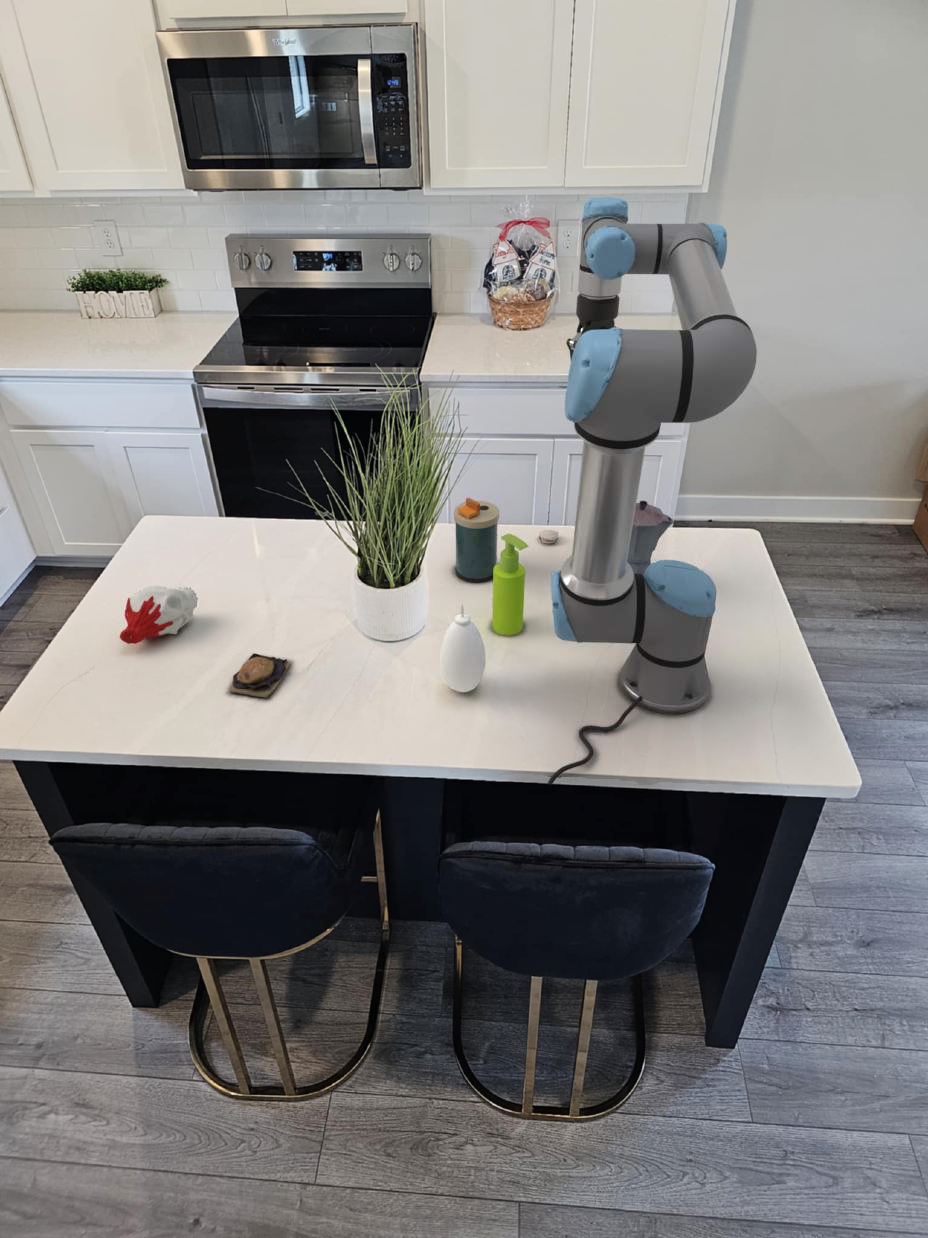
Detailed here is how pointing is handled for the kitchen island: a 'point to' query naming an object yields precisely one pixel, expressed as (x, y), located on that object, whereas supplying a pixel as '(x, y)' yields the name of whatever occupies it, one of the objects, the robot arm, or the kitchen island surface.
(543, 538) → the macaroon
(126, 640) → the white decorated figurine
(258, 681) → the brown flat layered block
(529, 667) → the kitchen island surface
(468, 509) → the orange l-shaped block
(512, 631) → the soap dispenser
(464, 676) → the sauce bottle
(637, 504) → the moka pot
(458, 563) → the travel mug
